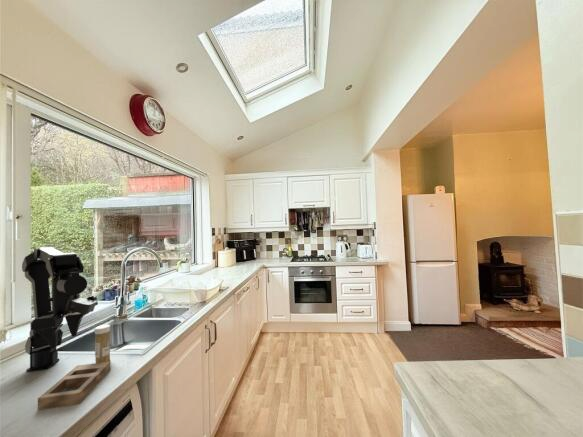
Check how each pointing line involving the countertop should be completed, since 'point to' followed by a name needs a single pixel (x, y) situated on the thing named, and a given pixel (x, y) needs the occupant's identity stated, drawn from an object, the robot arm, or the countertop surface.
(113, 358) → the countertop surface
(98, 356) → the sprinkles bottle
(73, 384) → the socket block
